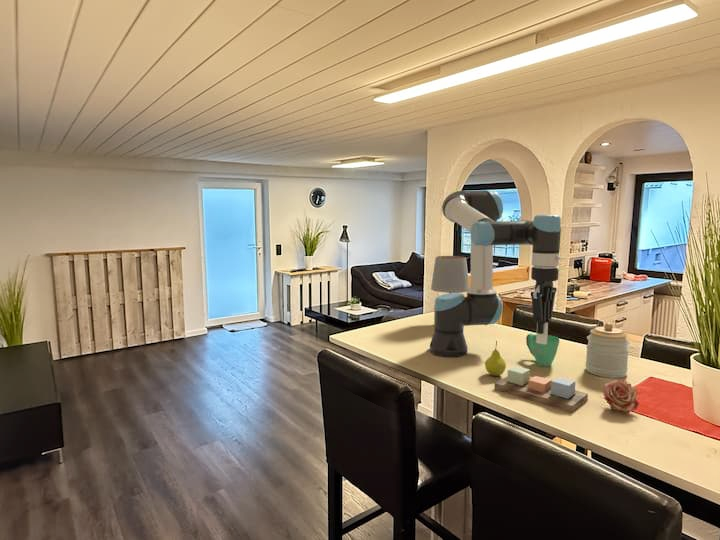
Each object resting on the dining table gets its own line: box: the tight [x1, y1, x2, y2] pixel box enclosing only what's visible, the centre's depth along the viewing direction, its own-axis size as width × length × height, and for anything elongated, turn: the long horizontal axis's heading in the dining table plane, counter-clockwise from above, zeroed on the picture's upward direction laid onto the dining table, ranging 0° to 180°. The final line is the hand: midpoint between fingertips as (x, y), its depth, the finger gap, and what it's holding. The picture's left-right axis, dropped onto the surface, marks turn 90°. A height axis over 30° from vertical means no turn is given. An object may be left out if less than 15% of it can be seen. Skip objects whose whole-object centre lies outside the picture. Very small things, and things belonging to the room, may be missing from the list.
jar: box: [585, 322, 630, 379], centre depth 155 cm, size 13×13×18 cm
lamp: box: [430, 255, 471, 294], centre depth 222 cm, size 19×19×34 cm
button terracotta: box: [528, 375, 553, 393], centre depth 138 cm, size 5×5×4 cm
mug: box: [525, 333, 560, 367], centre depth 167 cm, size 15×10×10 cm
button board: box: [494, 376, 589, 413], centre depth 138 cm, size 24×12×2 cm, turn 44°
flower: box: [600, 378, 640, 415], centre depth 127 cm, size 10×9×8 cm
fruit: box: [484, 340, 507, 377], centre depth 153 cm, size 7×7×12 cm
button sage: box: [506, 365, 531, 387], centre depth 142 cm, size 5×5×4 cm
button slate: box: [551, 376, 576, 400], centre depth 132 cm, size 5×5×4 cm
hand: (541, 343), depth 136 cm, fingers closed
